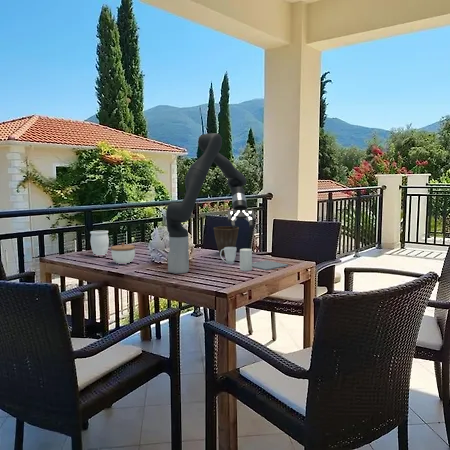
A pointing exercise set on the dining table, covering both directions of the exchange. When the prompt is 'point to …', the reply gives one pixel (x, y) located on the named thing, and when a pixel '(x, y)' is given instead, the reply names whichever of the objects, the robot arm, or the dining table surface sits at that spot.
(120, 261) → the lidded bowl
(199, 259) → the dining table surface
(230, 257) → the cup
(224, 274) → the dining table surface
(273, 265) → the rubber mat
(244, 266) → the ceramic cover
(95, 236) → the jar
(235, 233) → the plant pot
